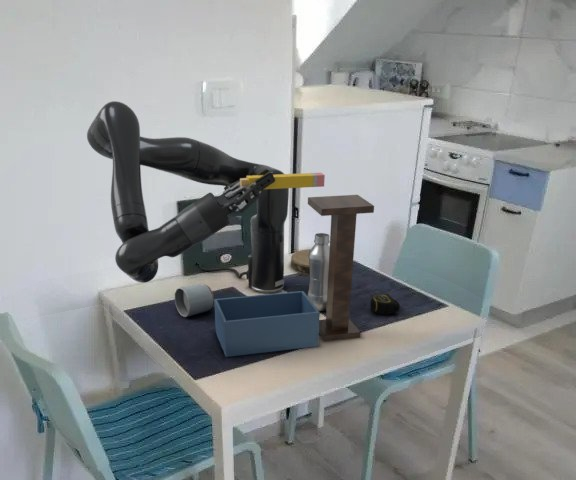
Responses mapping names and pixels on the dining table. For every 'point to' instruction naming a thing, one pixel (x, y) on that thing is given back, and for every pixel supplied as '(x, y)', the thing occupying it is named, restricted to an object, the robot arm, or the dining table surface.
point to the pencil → (289, 180)
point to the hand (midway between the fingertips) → (271, 174)
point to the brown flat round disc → (301, 262)
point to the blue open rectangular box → (266, 323)
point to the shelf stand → (340, 261)
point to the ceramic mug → (194, 299)
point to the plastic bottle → (319, 271)
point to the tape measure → (384, 304)
